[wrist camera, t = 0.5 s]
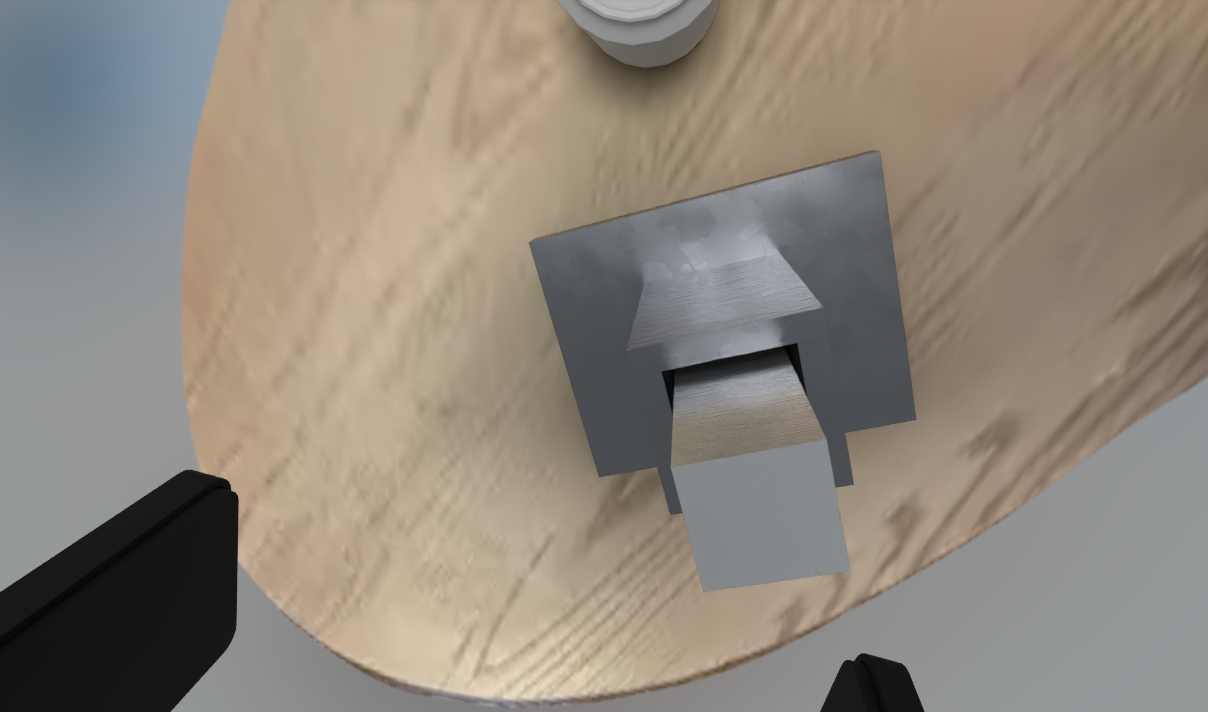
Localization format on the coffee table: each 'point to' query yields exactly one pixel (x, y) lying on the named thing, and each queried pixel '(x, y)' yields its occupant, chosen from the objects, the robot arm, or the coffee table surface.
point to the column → (753, 473)
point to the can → (644, 27)
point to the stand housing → (732, 307)
